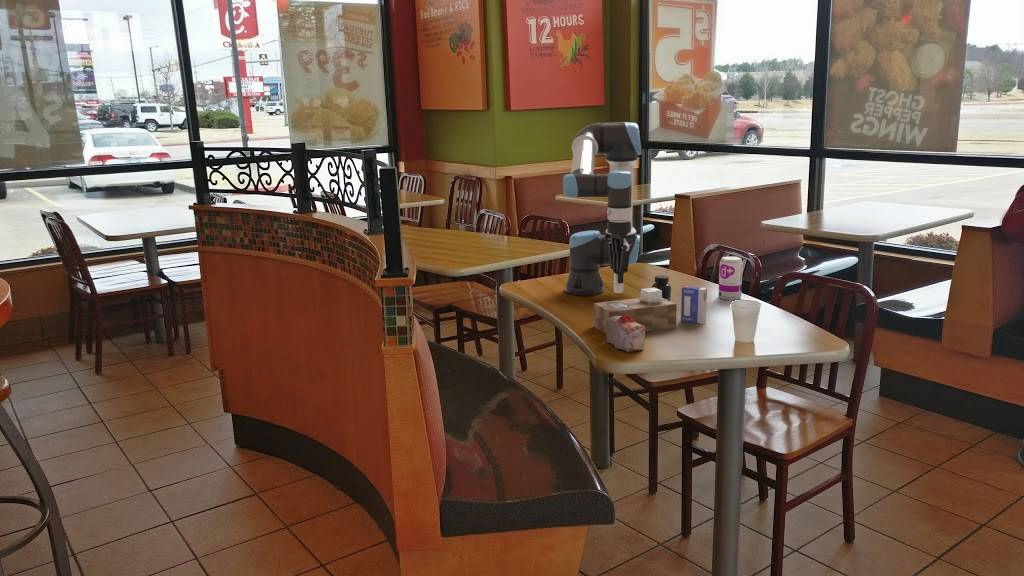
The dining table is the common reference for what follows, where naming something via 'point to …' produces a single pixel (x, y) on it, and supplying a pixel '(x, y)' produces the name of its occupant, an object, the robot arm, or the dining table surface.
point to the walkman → (693, 304)
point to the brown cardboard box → (638, 313)
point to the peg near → (618, 305)
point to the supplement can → (730, 278)
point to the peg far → (651, 296)
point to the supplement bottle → (663, 286)
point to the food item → (625, 333)
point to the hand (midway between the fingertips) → (618, 292)
